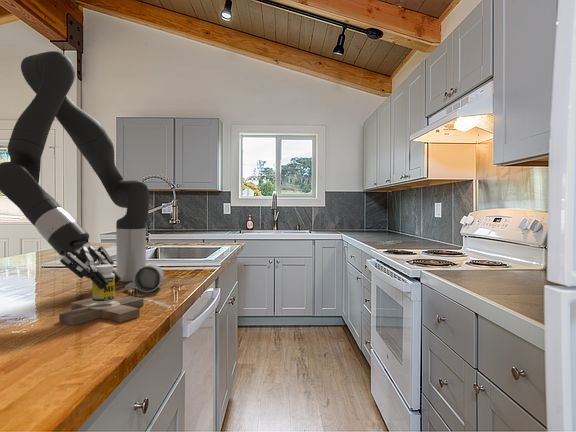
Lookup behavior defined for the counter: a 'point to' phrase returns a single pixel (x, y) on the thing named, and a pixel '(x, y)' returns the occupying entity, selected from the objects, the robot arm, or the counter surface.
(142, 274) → the ceramic mug
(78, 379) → the counter surface
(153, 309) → the counter surface
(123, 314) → the walnut cross joint
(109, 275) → the supplement bottle
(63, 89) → the robot arm
